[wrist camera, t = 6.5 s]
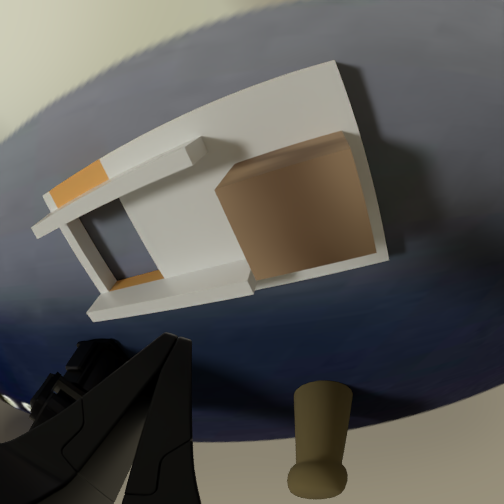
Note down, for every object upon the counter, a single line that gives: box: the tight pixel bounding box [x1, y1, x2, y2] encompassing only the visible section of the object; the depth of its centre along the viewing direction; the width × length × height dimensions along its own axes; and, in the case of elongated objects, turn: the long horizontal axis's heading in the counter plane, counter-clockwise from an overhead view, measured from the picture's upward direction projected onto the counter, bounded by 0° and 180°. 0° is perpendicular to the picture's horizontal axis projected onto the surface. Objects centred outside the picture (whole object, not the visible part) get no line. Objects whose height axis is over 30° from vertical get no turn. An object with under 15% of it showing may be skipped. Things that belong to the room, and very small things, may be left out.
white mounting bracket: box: [31, 60, 389, 322], centre depth 19 cm, size 22×12×4 cm, turn 112°
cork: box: [287, 381, 353, 499], centre depth 25 cm, size 6×6×11 cm
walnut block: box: [214, 131, 377, 281], centre depth 15 cm, size 6×5×4 cm
